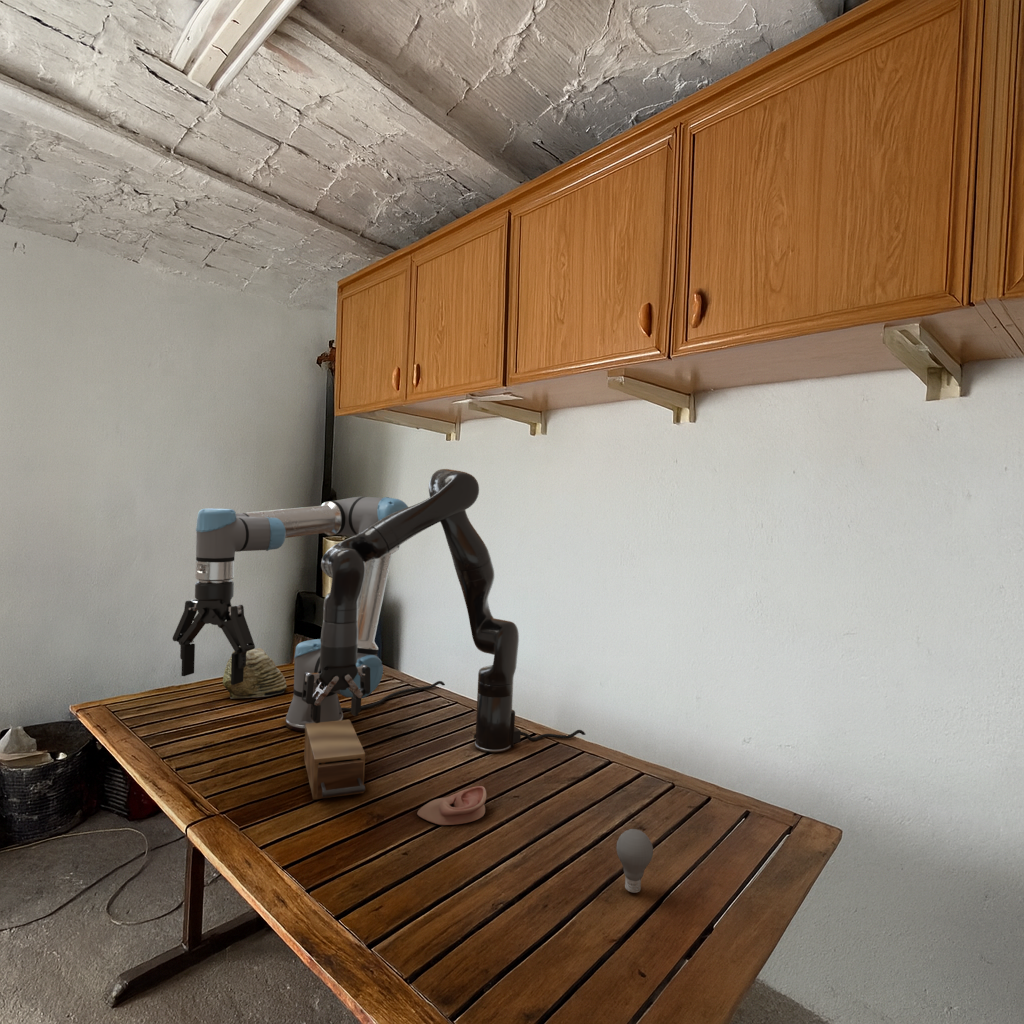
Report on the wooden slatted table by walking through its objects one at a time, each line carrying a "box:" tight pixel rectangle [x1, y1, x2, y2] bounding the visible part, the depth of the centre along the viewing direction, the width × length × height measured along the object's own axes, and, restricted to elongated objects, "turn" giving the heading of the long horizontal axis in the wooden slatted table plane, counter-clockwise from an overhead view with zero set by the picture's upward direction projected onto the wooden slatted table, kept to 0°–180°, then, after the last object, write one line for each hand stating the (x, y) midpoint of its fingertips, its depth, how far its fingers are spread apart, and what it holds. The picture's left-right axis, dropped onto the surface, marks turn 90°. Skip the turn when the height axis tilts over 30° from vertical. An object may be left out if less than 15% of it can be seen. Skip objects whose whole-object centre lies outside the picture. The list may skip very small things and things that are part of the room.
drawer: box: [316, 759, 366, 800], centre depth 140 cm, size 26×9×7 cm, turn 23°
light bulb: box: [615, 828, 654, 894], centre depth 106 cm, size 6×6×10 cm
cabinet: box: [303, 719, 366, 800], centre depth 144 cm, size 22×10×9 cm, turn 23°
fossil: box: [222, 647, 288, 699], centre depth 198 cm, size 9×18×15 cm, turn 132°
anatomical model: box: [416, 785, 488, 826], centre depth 129 cm, size 13×4×12 cm
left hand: (212, 678), depth 136 cm, fingers open, 13 cm apart
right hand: (335, 718), depth 133 cm, fingers open, 8 cm apart
